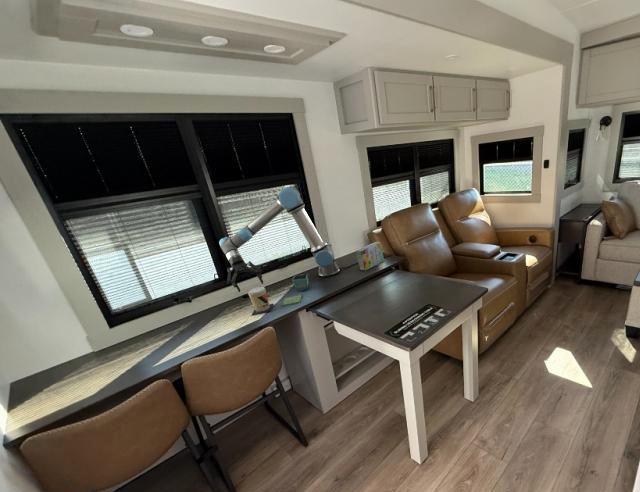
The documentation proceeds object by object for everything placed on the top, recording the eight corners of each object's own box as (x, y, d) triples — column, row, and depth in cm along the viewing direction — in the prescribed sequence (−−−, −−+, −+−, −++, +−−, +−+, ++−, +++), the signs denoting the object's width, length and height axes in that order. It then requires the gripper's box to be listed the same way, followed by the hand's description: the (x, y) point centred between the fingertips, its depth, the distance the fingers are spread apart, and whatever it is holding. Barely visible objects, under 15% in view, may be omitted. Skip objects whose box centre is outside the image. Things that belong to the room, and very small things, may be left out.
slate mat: (273, 304, 188) (273, 303, 188) (270, 311, 179) (269, 310, 178) (256, 308, 187) (256, 306, 186) (252, 315, 178) (251, 314, 177)
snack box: (379, 260, 240) (375, 241, 234) (384, 261, 236) (381, 241, 231) (359, 270, 225) (355, 250, 219) (365, 271, 222) (361, 250, 216)
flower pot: (311, 285, 209) (307, 273, 205) (309, 290, 201) (306, 277, 197) (297, 288, 208) (294, 275, 205) (295, 293, 200) (292, 280, 197)
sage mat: (301, 296, 194) (301, 295, 194) (299, 302, 185) (299, 301, 185) (285, 299, 193) (284, 298, 193) (282, 306, 184) (282, 304, 184)
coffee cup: (265, 312, 177) (258, 293, 173) (250, 312, 179) (244, 293, 175) (274, 304, 186) (268, 286, 181) (260, 305, 188) (254, 286, 183)
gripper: (255, 256, 202) (271, 282, 197) (214, 269, 188) (229, 297, 183) (255, 249, 197) (271, 276, 191) (212, 262, 182) (229, 291, 177)
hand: (251, 286), depth 187 cm, fingers open, 13 cm apart
